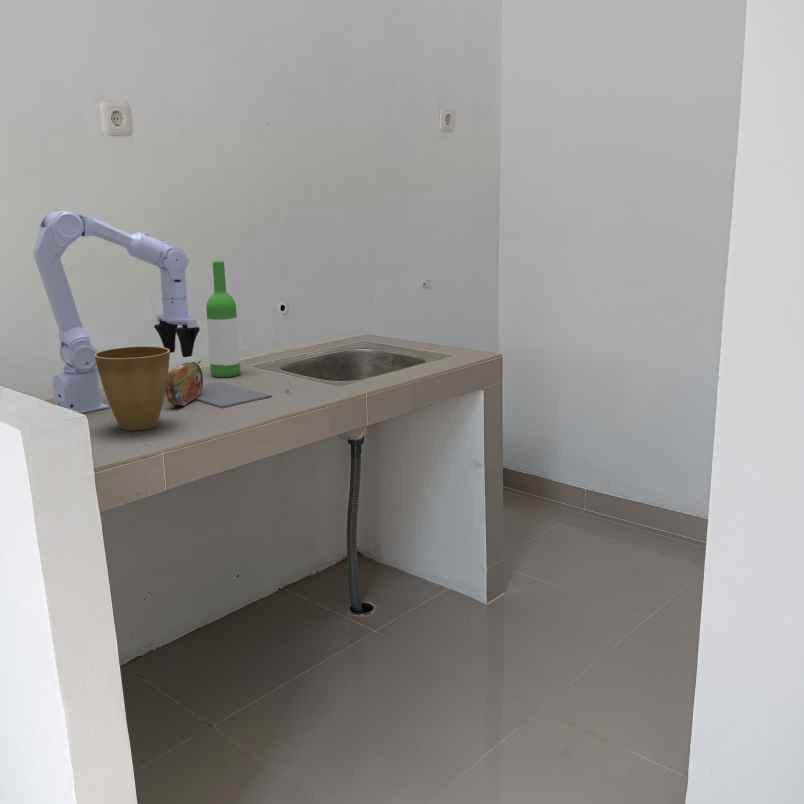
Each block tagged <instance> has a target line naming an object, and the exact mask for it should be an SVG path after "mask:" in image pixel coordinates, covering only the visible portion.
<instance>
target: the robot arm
mask: <svg viewBox="0 0 804 804" xmlns="http://www.w3.org/2000/svg"><path fill="white" fill-rule="evenodd" d="M39 222H40V223H39V224H38V232H37V236H36V240H35V244H34V248H33V253H32V254H33V257H34V261H35V263H36V267H37V269H38V272H39V274H40V278H41V281H42V284H43V286H44V290H45V293H46V295H47V300H48V303H49V305H50V308H51V311H52V313H53V317H54V319H55V322H56V326H57V328H58V340H59V342H60V347H59V357H60V359H61V360H62V361H63V363H64V364H65V365H64V368H63V372H61V373H59V374H56V375H54V376H53V377H52V378H53V379H52V389H53V390H52V391H53V395H54V396H53V397H54V405H55V404H56V405H59V406H62V407H65V408H68V409H72V410H75V411H78V412H81V413H80V414H83V413H88V412H94V411H99V410H103V409H109V408H110V405H109V404H105V403H103V402H102V397H101V389H100V387H101V386H100V379H99V378H100V375H99V372H98V368H97V364H96V360H95V356H94V355H95V354H96V353H98V352H99V351H98V349H97V348H96V347H95V346H94V345H93V344H92V342H91V339H90V338H89V336H88V334H87V332H86V330H85V329H84V327H83V324H82V321H81V318H80V317H81V316H80V315H79V312H78V309H77V306H76V303H75V300H74V299H75V298H74V297H73V293H72V290H71V287H70V284H69V281H68V279H67V275H66V273H65V269H64V265H63V263H62V260H61V257H62V256H63V254H64V253H65V252H66V250H67V248H68V247H69V246H70V245H71V244H73V243H74V242H76V241H77V240H78V239H79V238H80V237H85V238H86V237H92V236H94V237H96V238H98V239H99V238H100V239H102V240H104V241H107V242H110V243H113V244H115V245H118V246H120V247H123V248H125V249H126V251H127V253H128V254H129V256H131V257H133V258H135V259H137V260H140V261H143V262H145V263H148V264H151V265H153V266H157V268H159V271H160V285H161V286H160V288H161V289H160V290H161V301H162V313H156V314H155V315H156V324H154V325H153V326H154V329H155V331H156V333H157V334H158V336H159V338H160V341H161V343H162V346H163V348H167V349H169V350H170V354H172V353H175V351H176V335H177V338H178V341H179V344H180V345H179V346H180V352H181V355H182V356H181V357H183V358H189V357H192V356H193V352H194V347H195V342H196V338H197V337H198V334H199V332H200V329H201V328H200V326H198V323H197V318H193V314H189V309H188V308H189V305H188V293H187V290H188V289H187V280H186V279H187V278H186V269H187V267H188V266H189V262H190V259H189V258H188V256H187V253H186V252H185V251H184V249H182V248H180V247H177V246H172V245H171V246H170V244H169V241H167V240H163V241H161V240H158V238H157V239H156V238H154V237H151V234H150V233H149V232H148V231H147V232H146V231H143V232H139V231H138V232H135V233H133V234H130V233H128V232H126V231H123V230H121V229H119V228H117V227H114V226H113V225H111V224H108V223H105V222H104V221H101V220H99V219H97V218H94V217H92V216H88V215H84V214H79V213H78V214H77V213H76V212H74V211H72V210H71V211H70V210H64V211H62V210H58V209H56V210H51V211H49V212H47V214H46V215H45V216H44V217H43V218H42V220H40V221H39ZM178 326H180V327H178Z"/></svg>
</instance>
